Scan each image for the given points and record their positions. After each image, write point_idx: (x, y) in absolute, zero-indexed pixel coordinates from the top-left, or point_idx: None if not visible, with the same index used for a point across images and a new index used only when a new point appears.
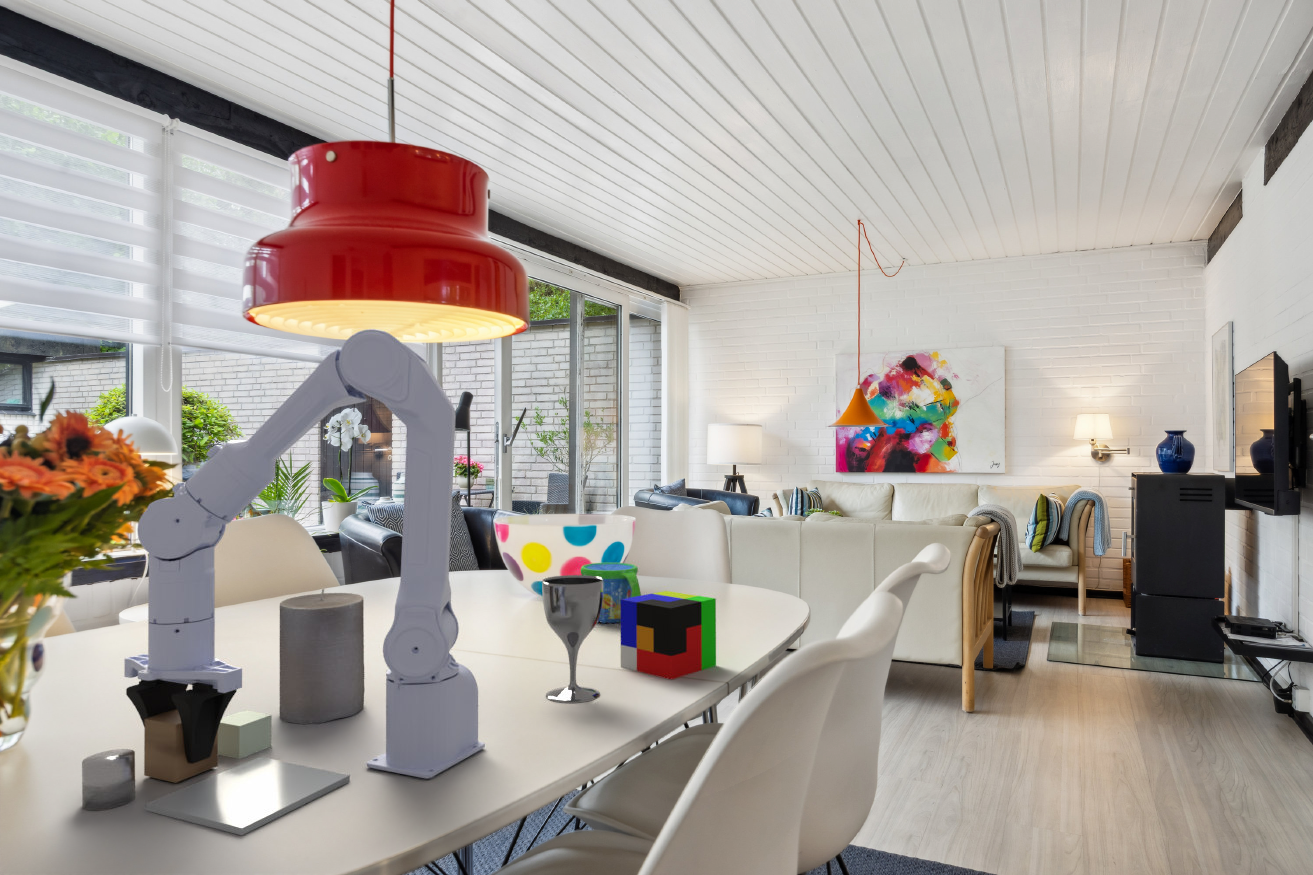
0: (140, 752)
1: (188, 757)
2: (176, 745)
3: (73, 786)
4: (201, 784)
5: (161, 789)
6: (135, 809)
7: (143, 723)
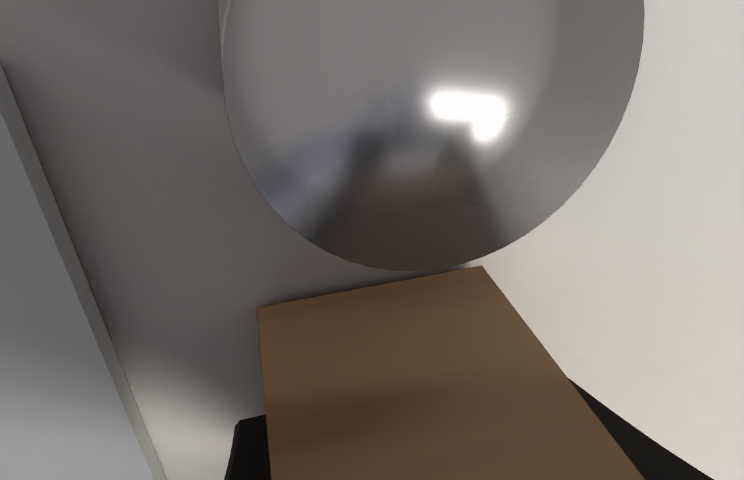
0: (715, 350)
1: (249, 437)
2: (270, 466)
3: (706, 32)
4: (49, 361)
5: (264, 244)
6: (78, 36)
7: (691, 469)
